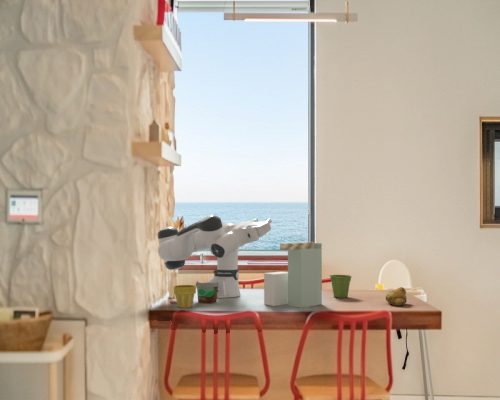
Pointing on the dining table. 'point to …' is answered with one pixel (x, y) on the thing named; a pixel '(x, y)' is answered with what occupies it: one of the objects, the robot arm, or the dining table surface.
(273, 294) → the block
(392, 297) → the bread roll
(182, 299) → the plant pot
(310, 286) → the pale green block
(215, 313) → the dining table surface
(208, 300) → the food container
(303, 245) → the rail
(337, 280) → the plant pot
